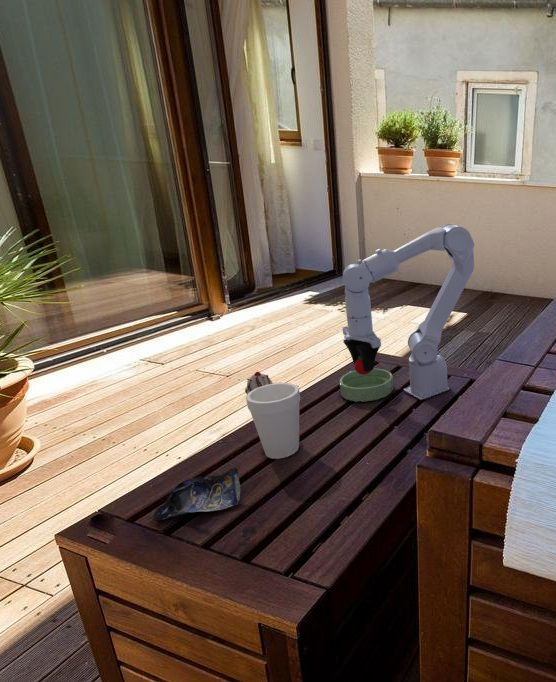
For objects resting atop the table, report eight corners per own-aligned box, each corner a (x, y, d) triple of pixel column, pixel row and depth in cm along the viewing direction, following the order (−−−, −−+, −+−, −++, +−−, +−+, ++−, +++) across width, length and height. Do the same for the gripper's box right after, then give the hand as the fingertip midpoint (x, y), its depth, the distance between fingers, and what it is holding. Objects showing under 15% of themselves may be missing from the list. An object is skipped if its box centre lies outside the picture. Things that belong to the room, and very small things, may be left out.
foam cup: (246, 455, 95) (235, 397, 90) (284, 434, 102) (275, 379, 98) (280, 467, 91) (270, 407, 86) (316, 444, 99) (309, 388, 94)
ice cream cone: (287, 430, 104) (277, 367, 100) (273, 443, 99) (262, 377, 94) (262, 428, 105) (252, 365, 100) (247, 441, 100) (235, 376, 95)
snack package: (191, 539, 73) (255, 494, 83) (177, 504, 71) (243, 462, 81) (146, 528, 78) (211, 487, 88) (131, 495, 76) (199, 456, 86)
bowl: (376, 377, 132) (375, 364, 131) (403, 392, 123) (402, 378, 122) (332, 391, 123) (330, 377, 122) (357, 408, 115) (355, 393, 113)
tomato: (367, 369, 120) (366, 352, 119) (376, 374, 118) (375, 356, 116) (351, 373, 117) (350, 356, 116) (361, 379, 115) (359, 361, 113)
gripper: (329, 312, 115) (334, 364, 119) (359, 325, 105) (364, 380, 110) (355, 307, 119) (360, 357, 124) (386, 319, 110) (390, 372, 114)
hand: (364, 367), depth 117 cm, fingers closed on tomato, 4 cm apart
